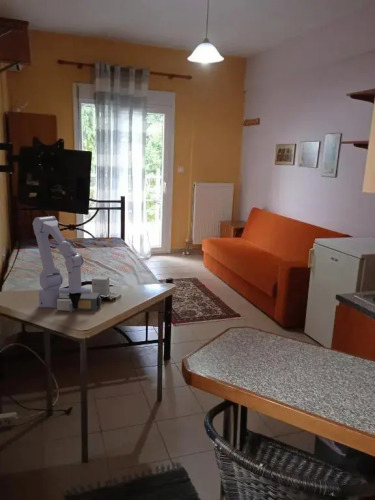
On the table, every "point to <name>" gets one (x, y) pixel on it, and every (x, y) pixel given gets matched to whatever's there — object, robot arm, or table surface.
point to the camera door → (65, 305)
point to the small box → (100, 285)
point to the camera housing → (86, 301)
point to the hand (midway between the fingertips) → (75, 307)
